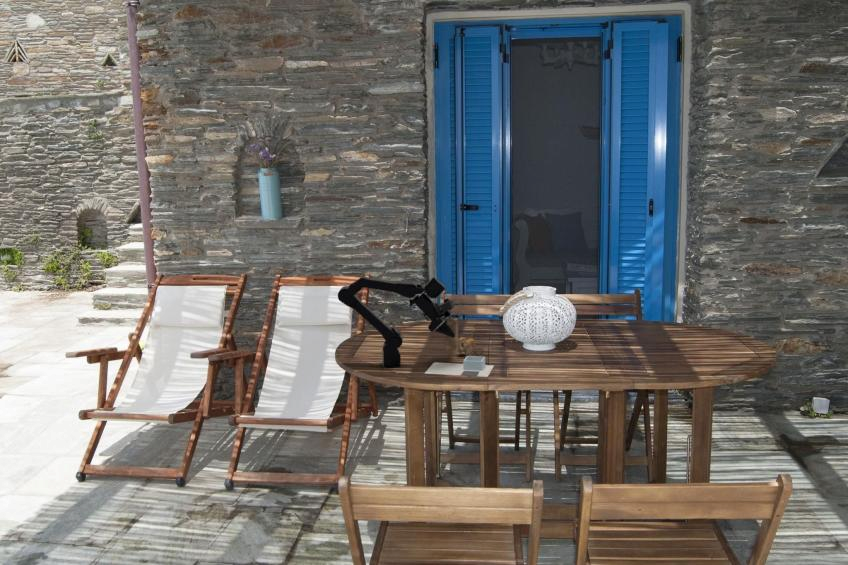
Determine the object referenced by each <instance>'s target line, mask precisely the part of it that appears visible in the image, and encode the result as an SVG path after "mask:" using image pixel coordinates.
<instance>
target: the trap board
mask: <svg viewBox="0 0 848 565" xmlns="http://www.w3.org/2000/svg"><path fill="white" fill-rule="evenodd" d="M494 367H495V365H494V364H493V365H492V364H490V365H489V364H485V367H484V368H483V370H482V371H480V370H463V363H454V362H453V363H452V362H451V363H450V362H437V361H436V362H433V363H432V364H431V365H430V367H429V368H428V369H427V370H426V371H425V372H424V374H426V375H427V374H429V375H445V376H465V377H466V376H467V377H480V378H481V377H484V378H488V376H489V375H490V373H492V370H493V368H494Z"/></svg>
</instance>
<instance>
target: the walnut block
mask: <svg viewBox="0 0 848 565" xmlns="http://www.w3.org/2000/svg"><path fill="white" fill-rule="evenodd" d="M446 320H447V325H448V326H449V328H450V329H451V331H452V332H453V333H454V335H455V337H454V338H452V337H450V336H447V335H445V353H448V354H449V353H450V354H457V352H459V350H458V339H459V318H458V317H451V318H447V319H446Z"/></svg>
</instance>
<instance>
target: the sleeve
mask: <svg viewBox="0 0 848 565" xmlns="http://www.w3.org/2000/svg"><path fill="white" fill-rule="evenodd" d="M462 364H463V370H480V371H482V370H483V368H484V367H485V365H486V356H478V355H477V356H474V355H467V356H465V358H464V359H463V362H462Z"/></svg>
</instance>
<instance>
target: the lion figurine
mask: <svg viewBox="0 0 848 565" xmlns="http://www.w3.org/2000/svg"><path fill="white" fill-rule="evenodd" d="M476 343H477V342H476V340H475V339H474V338H468V339H466V338H465V337H458V354H459V356H462V352H463V353H464V356H465V357H467V356H468V355H469V354H470V352H471V347H472V348H473V352H474V354H475V355H477V354H478V353H479V351H478V347H477V344H476Z"/></svg>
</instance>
